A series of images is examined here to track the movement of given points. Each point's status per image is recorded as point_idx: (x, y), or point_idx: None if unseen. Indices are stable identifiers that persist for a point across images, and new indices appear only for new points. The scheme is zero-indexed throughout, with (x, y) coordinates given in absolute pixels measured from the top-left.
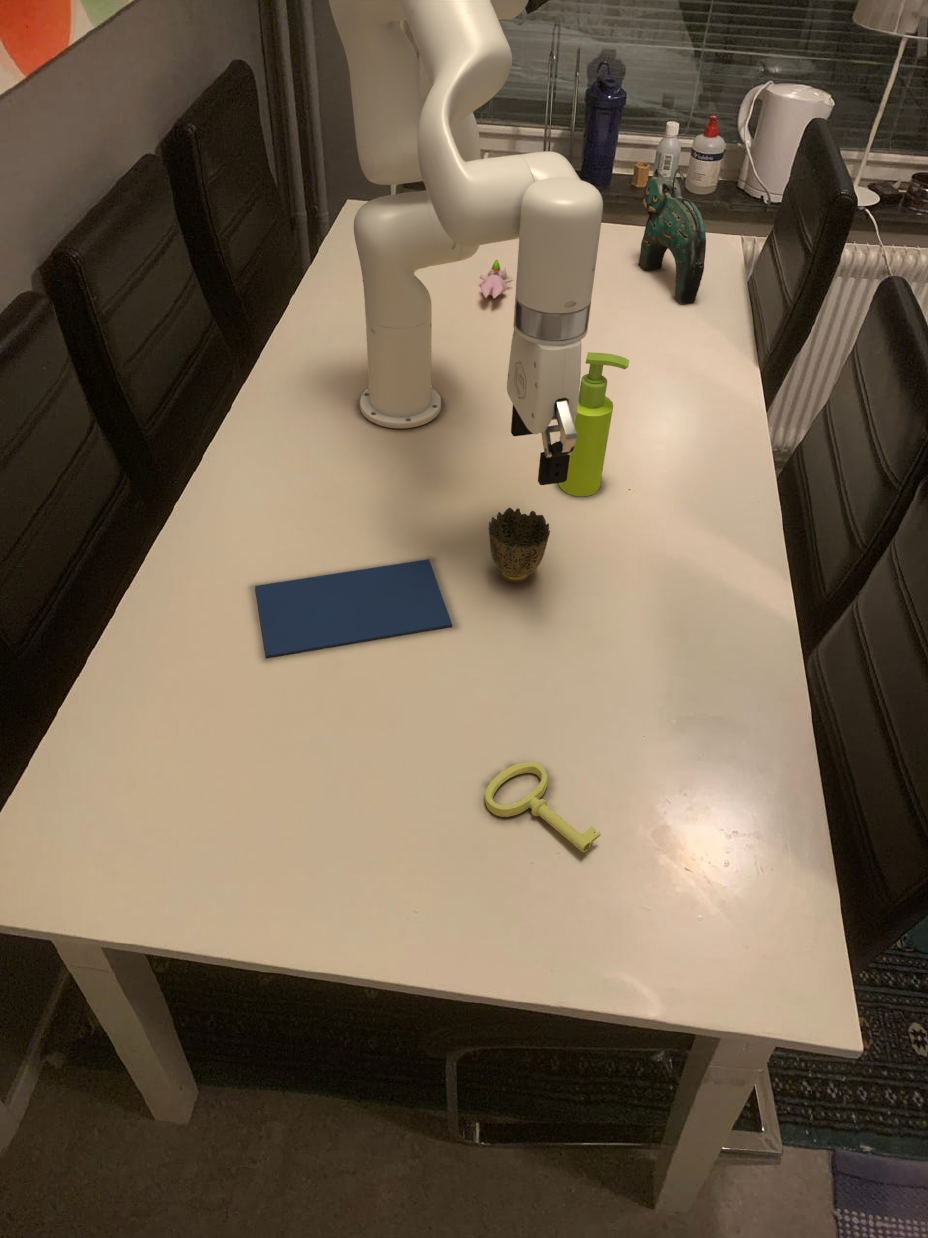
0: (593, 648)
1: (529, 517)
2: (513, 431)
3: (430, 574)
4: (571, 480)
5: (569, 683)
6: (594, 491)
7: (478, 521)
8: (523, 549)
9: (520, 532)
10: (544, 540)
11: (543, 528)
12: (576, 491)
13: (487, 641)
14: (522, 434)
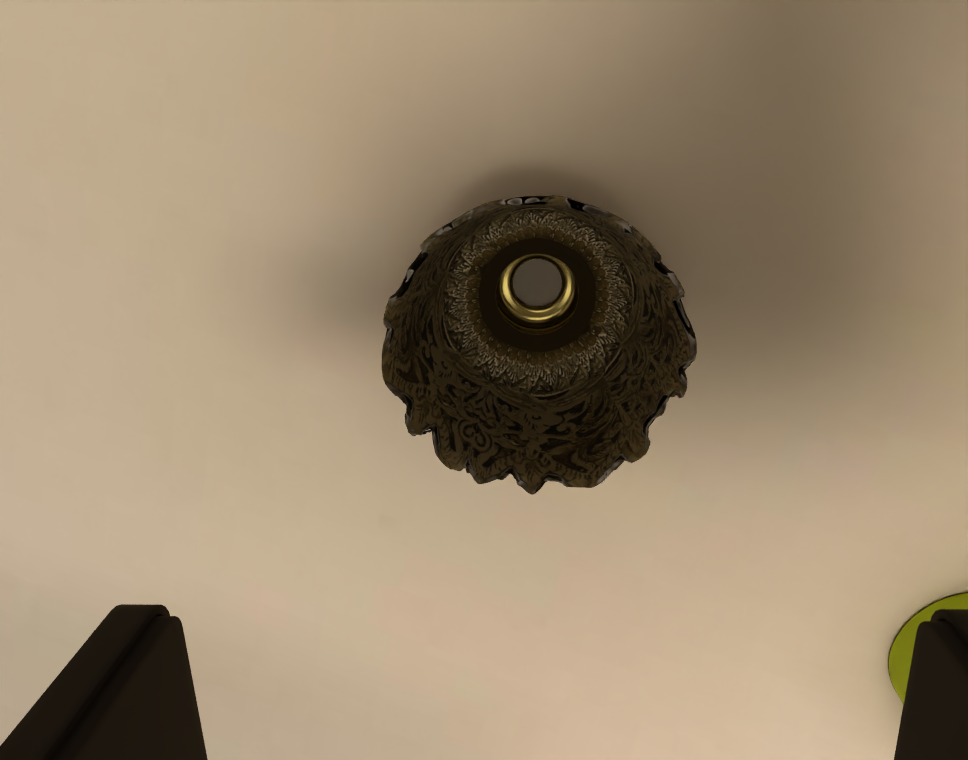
0: (149, 428)
1: (638, 425)
2: (960, 642)
3: None
4: None
5: (5, 307)
6: (895, 690)
7: (899, 228)
8: (386, 327)
9: (638, 361)
10: (517, 440)
11: (555, 460)
12: (913, 638)
13: (209, 80)
14: (910, 692)
